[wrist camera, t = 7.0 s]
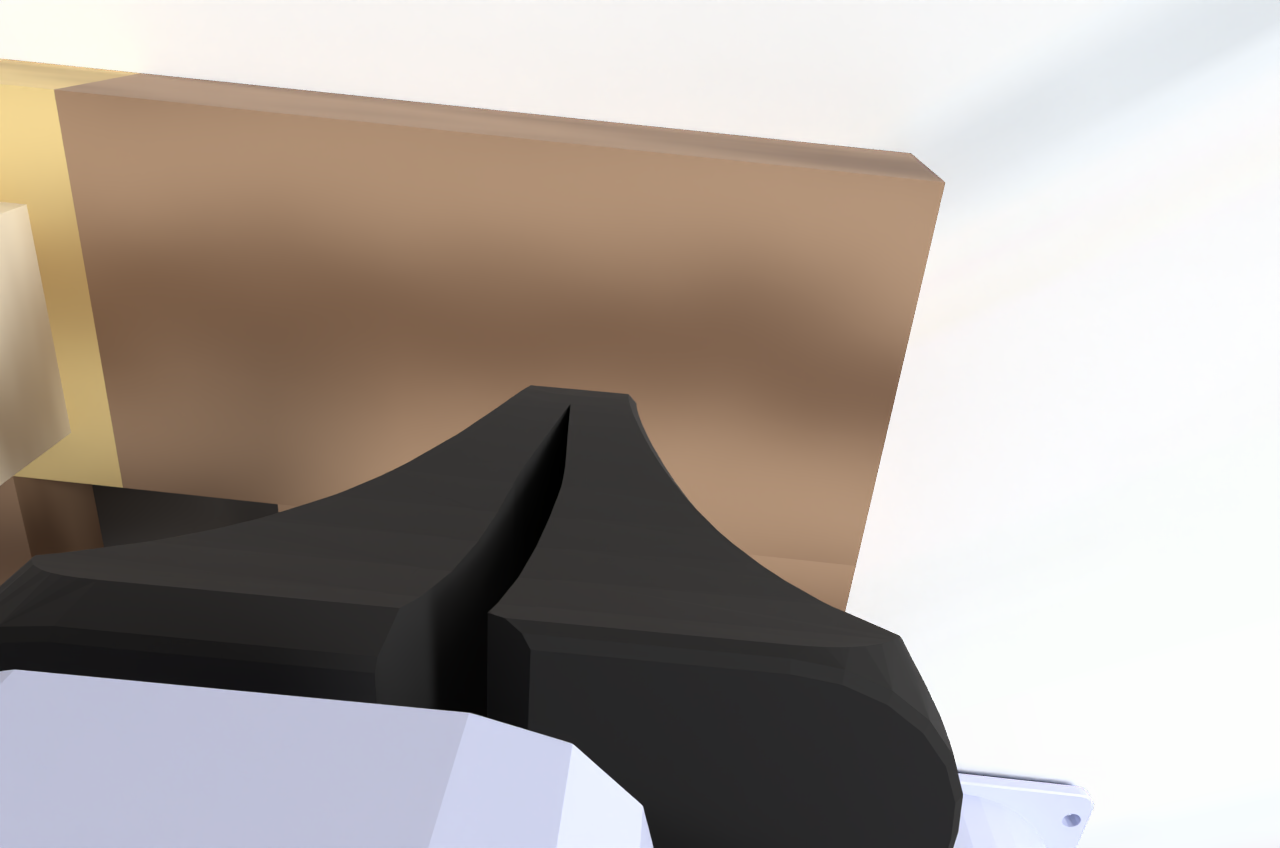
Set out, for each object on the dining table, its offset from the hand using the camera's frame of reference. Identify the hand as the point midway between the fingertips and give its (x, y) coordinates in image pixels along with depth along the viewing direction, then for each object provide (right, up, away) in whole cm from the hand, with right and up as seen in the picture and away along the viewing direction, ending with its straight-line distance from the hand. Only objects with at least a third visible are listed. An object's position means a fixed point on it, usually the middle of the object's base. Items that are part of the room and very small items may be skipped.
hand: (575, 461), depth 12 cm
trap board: (-6, 0, +12) cm, 13 cm away
